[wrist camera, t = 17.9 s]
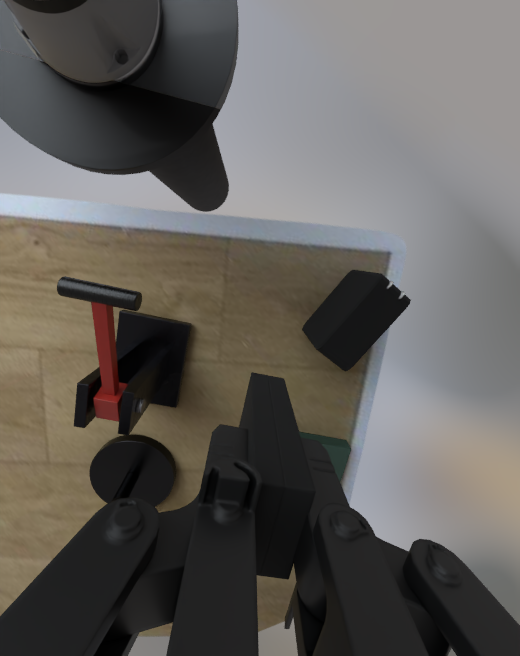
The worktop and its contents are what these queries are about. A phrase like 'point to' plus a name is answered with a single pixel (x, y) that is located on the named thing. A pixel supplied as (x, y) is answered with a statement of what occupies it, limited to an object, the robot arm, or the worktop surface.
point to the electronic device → (355, 317)
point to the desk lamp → (133, 470)
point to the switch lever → (104, 336)
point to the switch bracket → (140, 368)
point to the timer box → (333, 450)
